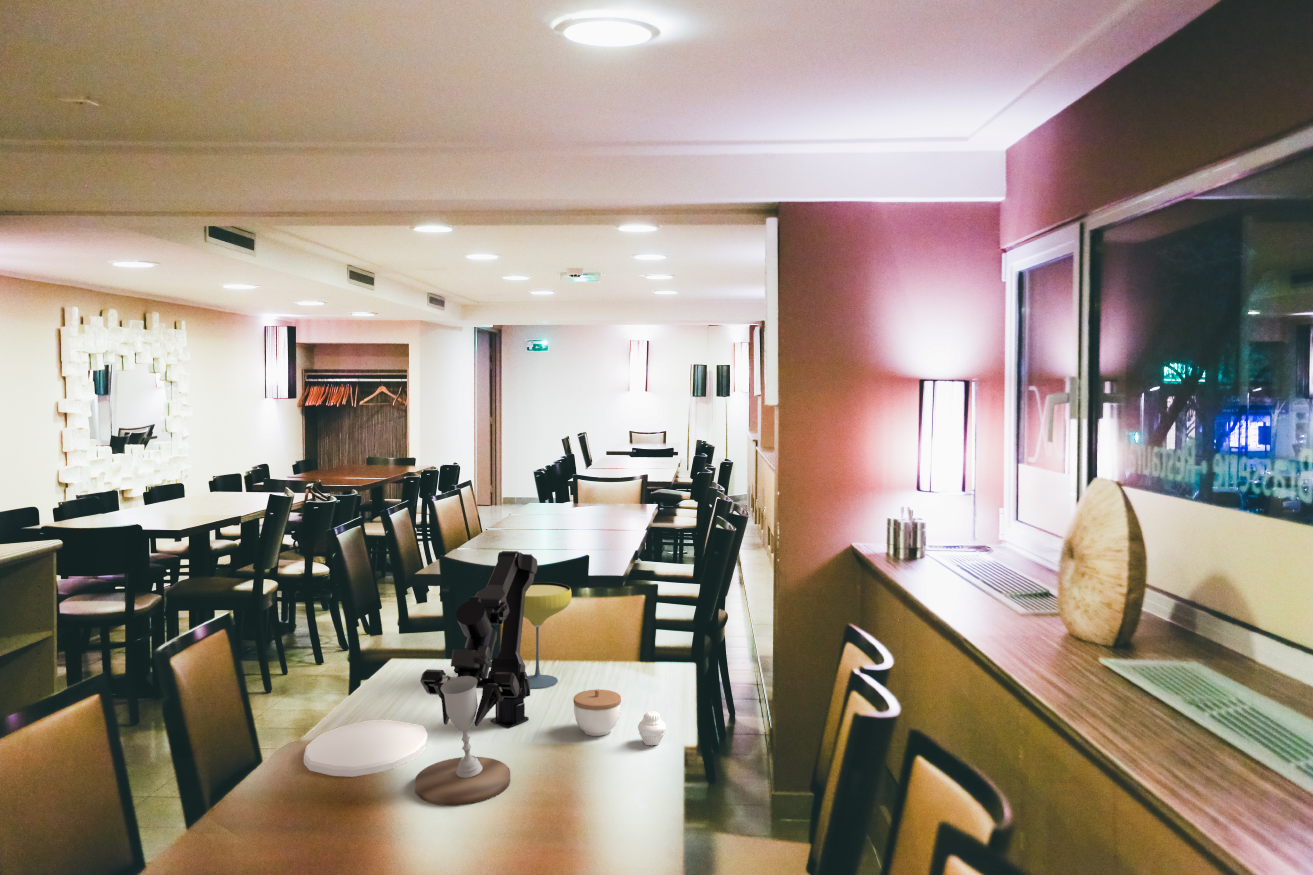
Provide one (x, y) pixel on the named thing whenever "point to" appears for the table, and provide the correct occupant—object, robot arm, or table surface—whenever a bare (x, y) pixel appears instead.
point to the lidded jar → (597, 711)
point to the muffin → (651, 728)
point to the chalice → (463, 717)
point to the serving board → (461, 782)
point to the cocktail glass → (544, 618)
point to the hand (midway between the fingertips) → (460, 724)
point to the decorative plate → (365, 748)
